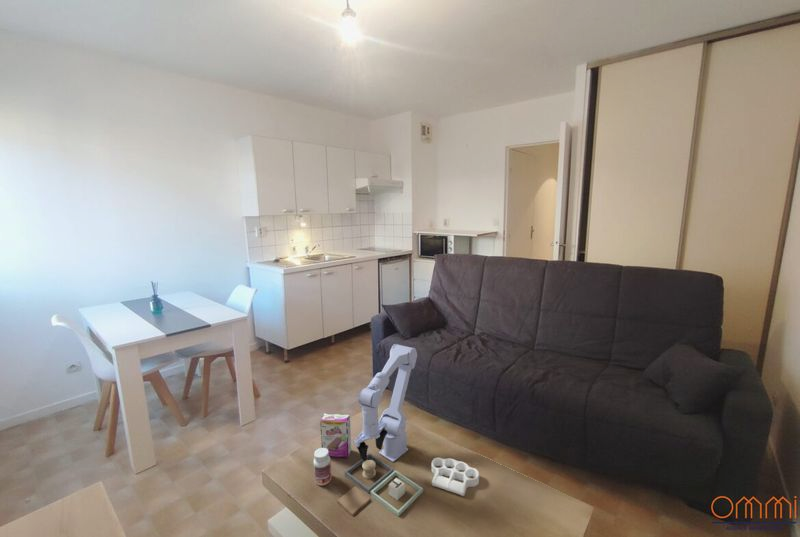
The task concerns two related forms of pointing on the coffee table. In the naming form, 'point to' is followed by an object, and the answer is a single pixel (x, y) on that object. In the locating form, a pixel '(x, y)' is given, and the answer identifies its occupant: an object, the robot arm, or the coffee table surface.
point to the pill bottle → (322, 466)
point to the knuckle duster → (453, 475)
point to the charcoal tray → (390, 471)
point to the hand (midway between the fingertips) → (371, 453)
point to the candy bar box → (336, 434)
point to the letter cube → (396, 488)
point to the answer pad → (353, 500)
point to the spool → (369, 469)
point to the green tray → (386, 504)
